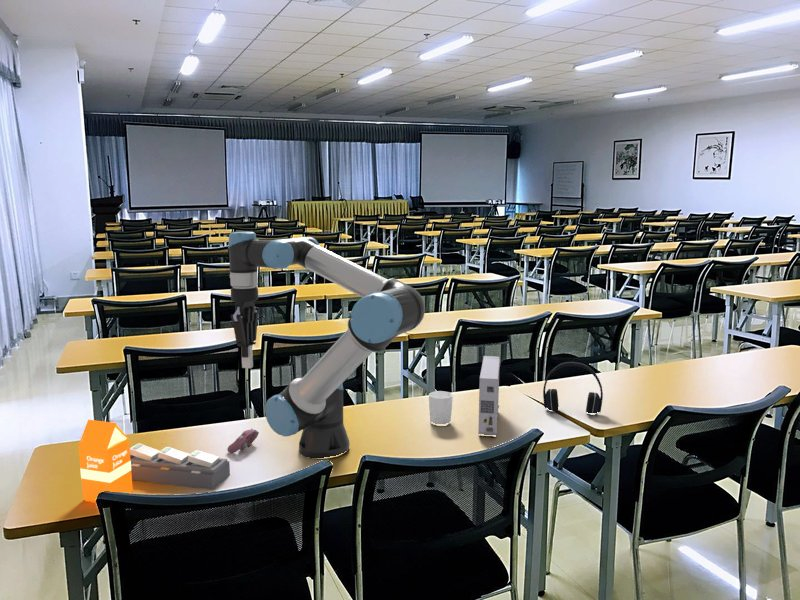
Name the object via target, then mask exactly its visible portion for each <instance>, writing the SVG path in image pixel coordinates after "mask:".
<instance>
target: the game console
mask: <svg viewBox="0 0 800 600" xmlns="http://www.w3.org/2000/svg"><path fill="white" fill-rule="evenodd" d="M500 359H501V358H500V356H494V355H489V356H488V355H483V358H482V364H481V369H480V375H479V386H478V387H479V388H478V389H479V391H478V392H479V393H478V394H479V397H478V398H479V399H478V429H477V431H478V435H479V434H484V435H496V434H497V435H498V420H497V418H499V409H500V405H499V392H500V367H501V361H500ZM497 435H496V436H497Z"/></svg>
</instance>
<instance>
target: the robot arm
mask: <svg viewBox="0 0 800 600" xmlns="http://www.w3.org/2000/svg"><path fill="white" fill-rule="evenodd" d="M227 248H228V256H229V278H230V286H231V288H230V301H232V302H234V303H235V306H234V307H235V308H234V310H235V312H234V314H233V313H231V314H230V319H231V321H232V322H231V323H232V325H233V332H234V336H235V341H236V346H237V347H241V349H240V350H241V368H242V369H252V368H253V367H254V359H253V358H254V356H253V355H254V354H253V346H255V345H256V344H257V342H256V341H257V334H258V333H257V332H258V321H259V320H258V319H259V318H258V317H259V312H260V308H259V307H260V306H259V307H257V306H256V304H255V302H256V301H258V300H259V288H258V287H257V286H258V285H259V282H258V281H259V280H258V278H259V277H258V268H265V269H266V268H267V269H273V270H278V269H279V270H280V269H287V268H288V267H289V266H295V265H299V266H300V267H302V268H304V269H306V270H309V271H311V272H313V273H314V274H316V275H318V276H320V277H322V278H324V279H325V280H328V281H330V282H331V283H334V284H336V285H338V286H340V287H341V288H343V289H345V290H347V291H349V292H351V293H353V294H355V295H356V296H359V297H360V299H358V301H356V303H354V305H353V307H352V310H351V313H350V317H349V319H348V321H347V330H346V331H345V332H344V333H342V335H341V336H340V337H339V338H338V339H337V340H336V341H335V343H333V344H332V346H330V348H329V349H328V350H327V351H326V352H325V353H324V354H323V356H322V357H320V359H318V360H317V362H315V364H314V365H313V366H312V367H311V368H310V369H309V370H308V371H307V373H306V374H304V376H303V377H297V378H294V379H292V380H291V381H290V383H289V384H288V385H287V386H286V387H285V388H284V389H283V390H282V391H281V392H280V393H278V394H274V395H272V396H271V397H270V398H268V399H267V401H266V402H265V405H264V413H265V420H266V421H267V423H268V426H269V428H271V430H272V431H273V432H275V433H276V434H277V435H279V436H282V437H289V436H292V435H296V434H298V433H299V432H301V431H302V433H301V435H300V438H299V441H298V452H299V454H300V455H301V456H303V457H304V458H305V457H306V458H307V457H309V458H308V459H312V458H324V457H330V456H336V455H339V454H341V453H344V452H345V451H347V450H348V449H349V446H350V438H349V436H348V433H347V431H346V428H345V424H344V386H343V383H344V382H345V381H346V380H347V379H348V377H350V375H352V373H354V372H355V371H356V370H357V369H358V367H359V366H360V365H361V364H362V363H364V361H365V360H366V359H367V358H368V357H369V356H370V355H371V354H372V353H381V352H382V351H384V350H385V349H386V347H388V346H389V344H391V342H393V341H394V340H395V339H396V338H397V337H399V335H402V334H405V333H407V332H411V331H413V330H415V329H416V327H418V326H419V325H420V324H421V323H422V321H423V319H424V317H425V313H426V306H425V305H426V304H425V301H424V299H423V297H422V295H421V293H419V291H417V290H416V289H415V288H414V287H413V286H410V285H409V284H406V283H405V282H402V281H400V280H399V279H396V278H394V277H392V278H389V279H388V278H385V277H383V276H382V275H379V274H377V273H376V272H373V271H371V270H369V269H367V268H365V267H364V266H361V265H359V264H358V263H355V262H353V261H351V260H348V259H346V258H344V257H342V256H341V255H338V254H336V253H334V252H333V251H330V250H328V249H326V248H325V247H322V246H321V245H320V243H319V241H318V240H317V239H315V238H314V237H312V236H300V237H291V238H280V239H269V240H268V239H258V238H257V234H256V233H255V232H253V231H233V232H231V233H229V234H228V246H227ZM349 450H350V449H349Z"/></svg>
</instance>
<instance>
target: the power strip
mask: <svg viewBox="0 0 800 600" xmlns="http://www.w3.org/2000/svg"><path fill="white" fill-rule="evenodd" d="M130 461H131V475H132V481H139V482H140V481H141V482H148V483H155V484H163V485H172V486H178V487H179V486H180V487H181V486H182V487H188V488H195V489H197V488H198V489H203V490H204V489H205V490H215V489H216V488H217V487H218V486H219V485H221V483H222V482H223V481H225V480H226V479H227V478H229V476H230V475H231V469H230V467H231V465H230V461H229V460H228V458H221V457H220V458H219V463H217V464H216V465H215V466H214V467H212V468H208V467H205V466H201V465H198V464H195V463H192V462H188V460H187V461H186V462H185V463H183V464H175V463H172V462H169V461H166V460H164V459H161V458H156V459H155V460H153V461H147V460H144V459H141V458H138V457H136V456H133V455H130Z"/></svg>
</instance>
